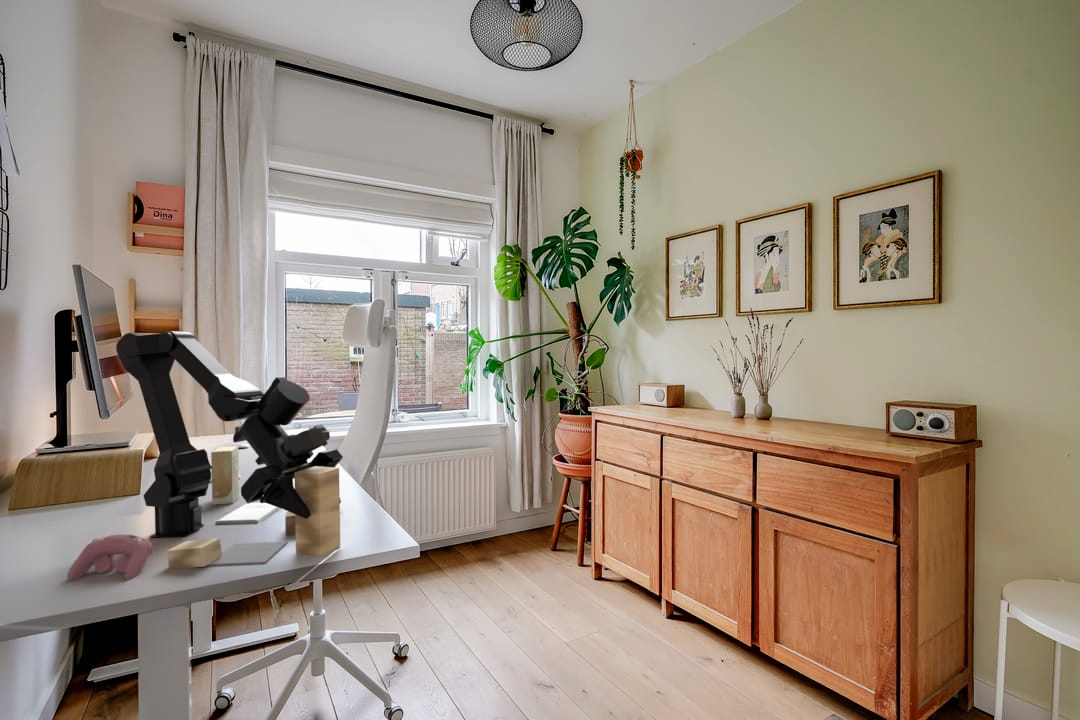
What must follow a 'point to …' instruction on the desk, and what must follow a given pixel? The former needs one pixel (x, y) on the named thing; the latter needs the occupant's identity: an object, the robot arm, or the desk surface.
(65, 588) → the desk surface
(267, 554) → the felt pad
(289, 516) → the walnut block
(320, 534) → the oak pillar
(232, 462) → the skincare box
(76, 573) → the video game controller
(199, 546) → the pale wooden block
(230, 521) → the external hard drive
